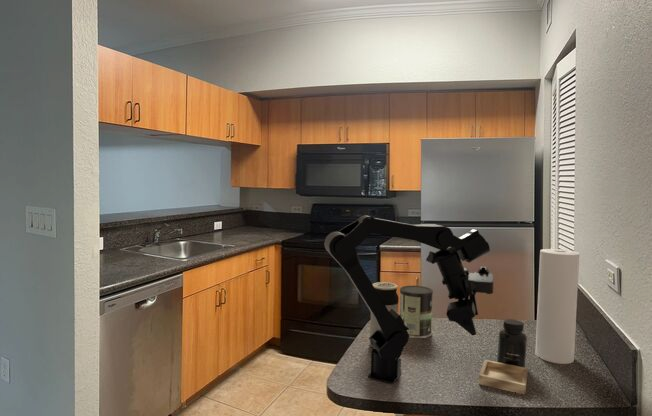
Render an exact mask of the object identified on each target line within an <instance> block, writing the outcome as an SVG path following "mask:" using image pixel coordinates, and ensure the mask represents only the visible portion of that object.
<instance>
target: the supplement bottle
mask: <svg viewBox="0 0 652 416" xmlns="http://www.w3.org/2000/svg"><path fill="white" fill-rule="evenodd" d="M524 324H525V323H524V322H523V321H520V320H519V319H514V318H505V319H504V320H503V324H502V329H500V330H499V332H498V337H497V338H498V339H497V341H498V342H497V355H496V356H497V357H496V358H497V359H496V362H499V363H504V364H509V365H514V366H519V367H524V368H526V364H527V363H526V362H527V361H526V360H527V349H528V348H527V345H528V336H527V335H526V333H525V331H524V330H525V328H524Z"/></svg>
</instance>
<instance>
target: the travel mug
mask: <svg viewBox="0 0 652 416" xmlns="http://www.w3.org/2000/svg"><path fill="white" fill-rule="evenodd" d="M372 285H373V286H374V288H375V290H376V291H377V293H378V295H379V296H380V298H381V299H382V301H383V303H384V304H385V306H386V308H387V309H388V311H390V310H391V309H393V310H395V311H396V312H397V313H398V314H399V303H400V296H399V294H398V293H397V289H398V287H399V285H398V284H396V283H392V282H390V281H389V282H388V281H387V282H386V281H382V282H381V281H380V282H379V281H377V282H373V283H372ZM369 321H370V324H369V326H370V329H369V331H370V332H369V333H370V334H369V337H370V336H371V335H372V334H373V333H374V332H375V331H376V330H377V328H376V325H375V322H374V318H373V315H372V313H371V312H370V320H369ZM369 344H370V346H371V348H374V347H373V346H372V345H371V343H370V342H369Z"/></svg>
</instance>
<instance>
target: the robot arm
mask: <svg viewBox="0 0 652 416" xmlns="http://www.w3.org/2000/svg"><path fill="white" fill-rule="evenodd" d="M372 234H375V235H382V236H388V237H393V238H398V239H405V240H411V241H416V242H418V243H422V244H424V245H427V246H429V247H432V248H434V249H437V251H435V252H434V251H429V252H428V255H427V256H426V258H425V261H426V262H428V263H429V264H432V265H433V264H436V265H437V268H438V270H439V272H440V275H441V277H442V280H441V283H442V285H443V286H446V288H447V292H448V294H447V297H448V298H449V300H452V299H455V300H457V301H453V302H449V304H448V306H447V309H446V313H445V314H446V317H447V319H448V321H450V322H454V323H456V324H457V325H459V326H460V327H462V329H464V330H465V331H467V332H468V333H469V334H470V335H471V336H475V335H477V331H476V325H475V321H474V318H475V317H476V316H478V315H479V309H478V304H477V300H476V299H477V298H476V294H477V293H482V294H487V295H492V294H494V274H493V273H492V272H490V271H489V269H488V267H487V266H480V267H479V268H478V270H477V271H474V272H470V271H469V269H468V268H467V267H464V265H463V263H462V261H463V262H467V263H472V262H474V261H475V260H477V259H479V258H481V257H483V256H485V255H487V254H489V253H490V251H491V250H490V244H489V242H487V240H486V239H485V237H484V236H483V235H482V234H480V232H479V230H478V229H471V230H470V231H468V232H467V233H465V234H463V235H462V236H456V235H454V233H453V231H452V229H451V228H449V227H447V226H444V225H440V224H437V223H420V224H410V223H405V222H399V221H393V220H388V219H383V218H377V217H373V216H370V215H362V216H360V217H359V218H358V219H356V220H355V221H353V222H352V223H350V224H348V225H346V226H344V227H343V228H341V229H340V230H337V231H332V232H330V233H329V234H328V235H326V237H325V239H324V243H323V244H324V248H325V250H326V252H328V254H329V255H330V256H331V257H332V259H334V260H335V261H336V262H337V264H339V266H340V267H341V268H343V270H344V272H345V274H346V275H347V276H348V278H349V279H350V281H351V283H352V284H353V286H354V287H355V289H356V291H357V292H358V294H359V295H360V298H361V299H362V300H363V302H364V303H365V305H366V307H367V308H368V310H369V312H370V314H371V313H372V315H373V318H374V322H375V325H376V328H377V330H376V331H375V332H374V333H373V334H372V335H371V336H370V335H369V338H368V339H369V344H370V343H371V345H372V346H373V347H372V346H371V345H370V346H371V347H372V349H371V350H370V372H369V373H368V375H367V378H369V379H372V380H376V381H380V382H383V383H386V384H387V383H388V384H394V383H395V382H396V380H397V379H398V378H399V377H400V376H401V374H402V371H401V369H402V359H401V355H402V353H403V351H404V348H405V346H406V345H407V344H408V343H409V339H410V337H409V334H408V332H407V330H409V328H408V327H407V326H405V324H404V322H403V320H402V317H401V316H400V313H399V312H398V313H397V312H396V311H395V310H393V309H391V310H390V311H388V309H387V308H386V306H385V304H384V303H383V301H382V299H381V298H380V296H379V295H378V293H377V291H376V290H375V288H374V286H373V285H372V284H373V283H372V281H371V280H370V278H369V277H368V275H367V273H366V272H365V270H364V268H363V267H362V265H361V262H360V260H359V255H358V252H357V249H356V248H357V247H358V246H360V245H361V244H362V243H363V242H364V241H365V239H367V238H368V237H369V236H370V235H372Z"/></svg>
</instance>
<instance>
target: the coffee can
mask: <svg viewBox="0 0 652 416" xmlns="http://www.w3.org/2000/svg"><path fill="white" fill-rule="evenodd" d="M433 295H434V290H433V288H429V287H427V286H423V285H422V286H421V285H405V286H402V287H399V315H400V316H401V317H402V320H403V322H404V324H405V326H407V327H408V328H409V330H407V332H408V334H409V339H410V338H411V339H428V338H429V337H431V336H432V335H433V334H432V323H433V322H432V321H433V319H432V317H433Z"/></svg>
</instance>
